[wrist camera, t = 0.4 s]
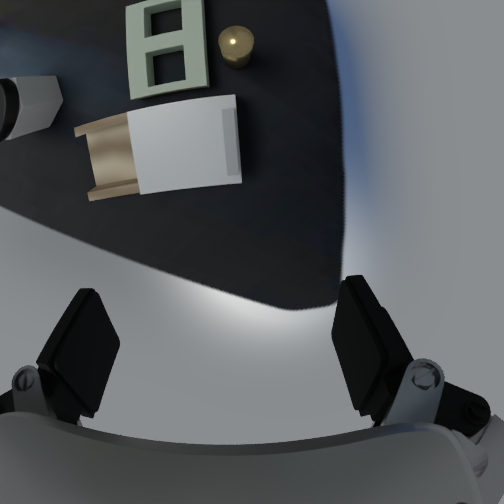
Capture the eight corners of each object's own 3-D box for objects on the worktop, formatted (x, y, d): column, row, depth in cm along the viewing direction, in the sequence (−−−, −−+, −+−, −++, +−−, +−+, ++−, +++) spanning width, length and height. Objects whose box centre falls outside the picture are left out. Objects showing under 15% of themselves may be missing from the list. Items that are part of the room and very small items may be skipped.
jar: (21, 129, 27) (-31, 148, 17) (26, 79, 23) (-28, 86, 13) (61, 128, 29) (6, 146, 18) (68, 73, 25) (12, 74, 14)
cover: (129, 111, 26) (119, 113, 23) (235, 94, 26) (234, 93, 23) (142, 192, 31) (135, 200, 28) (241, 181, 31) (242, 188, 28)
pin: (223, 48, 26) (217, 27, 17) (248, 46, 26) (252, 24, 17) (225, 70, 27) (219, 56, 19) (250, 68, 27) (255, 54, 19)
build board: (134, 12, 22) (125, 6, 19) (203, -3, 22) (200, -11, 19) (139, 99, 28) (130, 99, 26) (209, 86, 28) (206, 85, 26)
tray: (88, 124, 29) (74, 128, 26) (235, 95, 29) (235, 94, 26) (101, 191, 34) (89, 201, 31) (241, 172, 34) (241, 180, 31)
